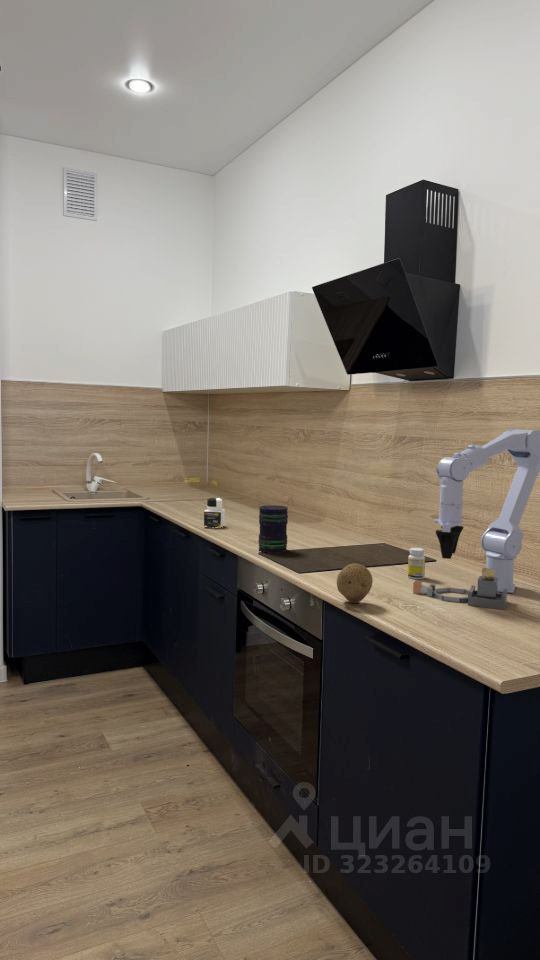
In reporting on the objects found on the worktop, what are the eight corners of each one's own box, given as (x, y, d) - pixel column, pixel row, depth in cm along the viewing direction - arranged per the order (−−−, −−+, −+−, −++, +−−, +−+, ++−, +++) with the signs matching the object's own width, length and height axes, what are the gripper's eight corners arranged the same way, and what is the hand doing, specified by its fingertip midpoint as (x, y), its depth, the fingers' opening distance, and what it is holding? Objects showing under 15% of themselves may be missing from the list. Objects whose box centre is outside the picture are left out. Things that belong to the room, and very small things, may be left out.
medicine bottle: (203, 528, 280) (203, 498, 279) (208, 525, 287) (208, 496, 286) (220, 528, 279) (221, 499, 278) (224, 526, 286) (225, 497, 285)
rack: (471, 597, 178) (471, 585, 178) (506, 601, 175) (507, 589, 175) (467, 605, 171) (468, 592, 171) (504, 609, 168) (505, 596, 167)
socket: (432, 589, 186) (432, 581, 186) (477, 594, 182) (478, 586, 182) (425, 598, 177) (425, 590, 176) (473, 604, 172) (473, 596, 172)
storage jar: (281, 547, 242) (282, 505, 241) (291, 552, 233) (292, 508, 231) (254, 548, 239) (255, 505, 237) (263, 554, 229) (264, 509, 228)
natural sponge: (369, 609, 165) (370, 568, 164) (332, 606, 167) (333, 566, 167) (373, 600, 174) (375, 561, 173) (338, 597, 176) (339, 558, 175)
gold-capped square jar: (478, 595, 176) (480, 566, 175) (496, 597, 174) (498, 568, 173) (476, 599, 172) (478, 569, 171) (495, 601, 170) (496, 571, 169)
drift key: (415, 590, 184) (415, 580, 184) (432, 592, 182) (432, 582, 182) (413, 593, 182) (413, 582, 181) (430, 595, 180) (430, 584, 180)
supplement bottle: (413, 575, 203) (414, 546, 202) (427, 577, 200) (428, 549, 199) (404, 577, 200) (405, 548, 199) (418, 580, 196) (419, 551, 195)
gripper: (439, 499, 187) (437, 549, 188) (430, 505, 173) (428, 559, 175) (466, 501, 184) (464, 551, 185) (459, 507, 171) (457, 561, 172)
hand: (448, 555), depth 180 cm, fingers open, 7 cm apart
